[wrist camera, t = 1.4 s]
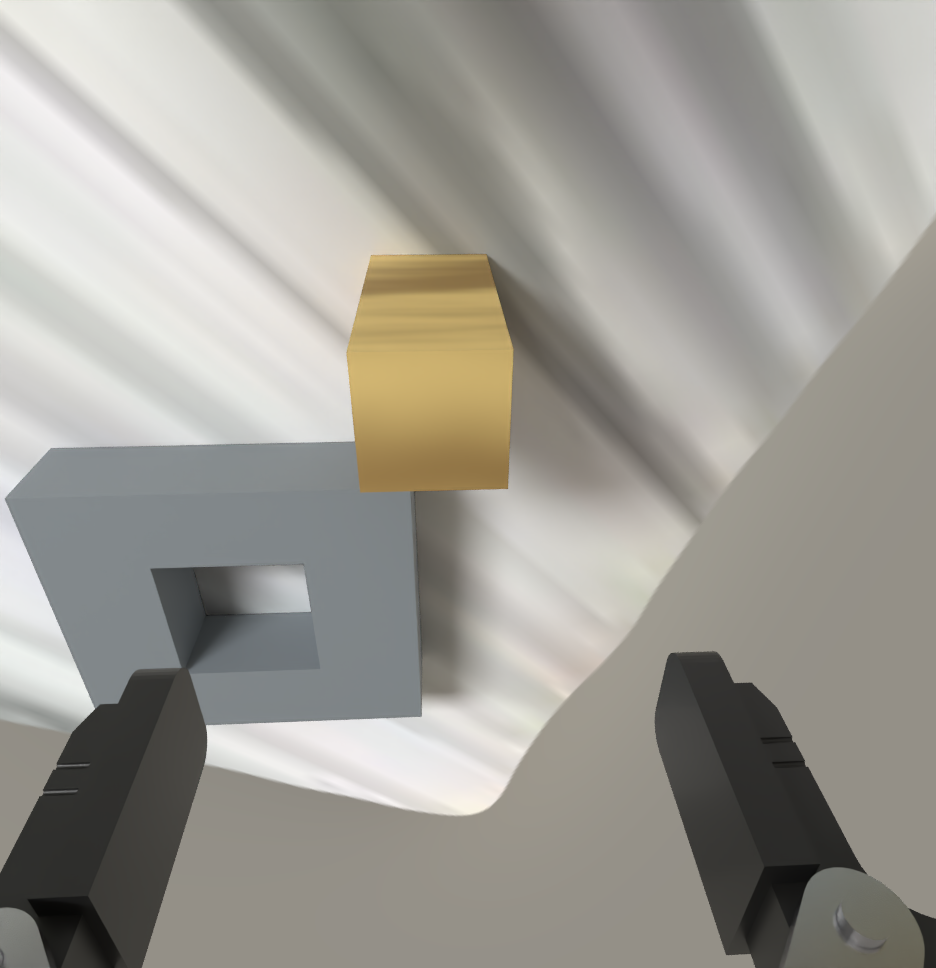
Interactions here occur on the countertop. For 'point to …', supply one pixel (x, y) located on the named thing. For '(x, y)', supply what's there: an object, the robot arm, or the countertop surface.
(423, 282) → the peg
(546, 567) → the countertop surface
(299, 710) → the hole block
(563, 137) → the countertop surface
